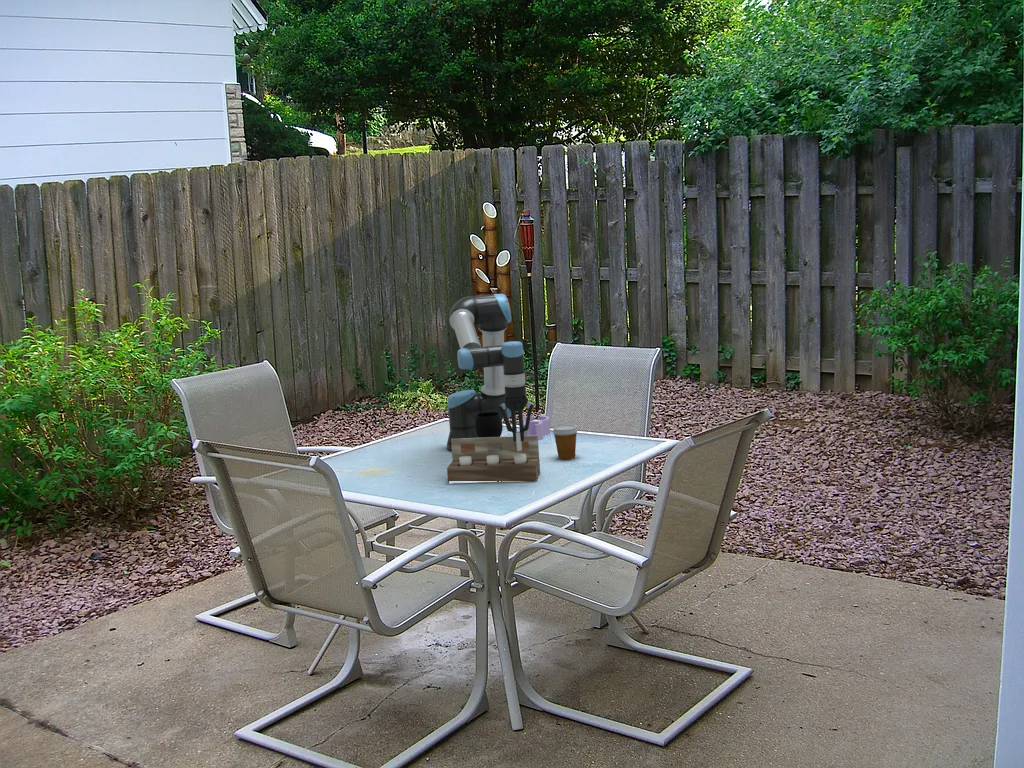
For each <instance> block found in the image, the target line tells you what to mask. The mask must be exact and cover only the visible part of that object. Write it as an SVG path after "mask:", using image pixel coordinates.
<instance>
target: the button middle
mask: <svg viewBox="0 0 1024 768" xmlns="http://www.w3.org/2000/svg"><path fill="white" fill-rule="evenodd" d="M486 458H487V465H499V456H498V455H489V456H487V457H486Z"/></svg>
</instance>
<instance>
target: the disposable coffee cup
mask: <svg viewBox="0 0 1024 768" xmlns="http://www.w3.org/2000/svg"><path fill="white" fill-rule="evenodd" d="M552 433H553V436H554V440H555V445H556V446H555V447H556V451H557V457H558V459H559V460H563V461H568V460H569V461H571V460H573V459H575V457H576V449H577V448H576V446H577V433H578V429H577V426H576V425H572V424H563V425H558V426H554V427H553V430H552Z"/></svg>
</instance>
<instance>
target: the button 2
mask: <svg viewBox="0 0 1024 768" xmlns="http://www.w3.org/2000/svg"><path fill="white" fill-rule="evenodd" d="M514 464H527V460H526V454H516V455H514Z"/></svg>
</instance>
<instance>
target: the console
mask: <svg viewBox="0 0 1024 768" xmlns="http://www.w3.org/2000/svg"><path fill="white" fill-rule="evenodd" d="M451 446H452V451H451V455H452V456H451V458H452V461H451V462H450V464H449V465H448V466H447V467H446V475H447V483H448V482H449V481H497V482H499V481H501V482H502V481H531V482H537V481H538V479H539V477H540V474H541V464H540V462H541V461H540V449H539V440H538V435H533V436H524V441H522V450H521V451H517V443H516V442H514V441H513V435H512V436H511V435H510V436H508V435H507V436H500V437H483V438H458V439H451ZM516 454H526V460H527V464H514V455H516ZM489 455H498V456H499V465H487V458H486V457H487V456H489ZM462 456H471V459H472V466H460V462H459V457H462ZM538 476H539V477H538ZM502 483H503V482H502Z"/></svg>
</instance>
